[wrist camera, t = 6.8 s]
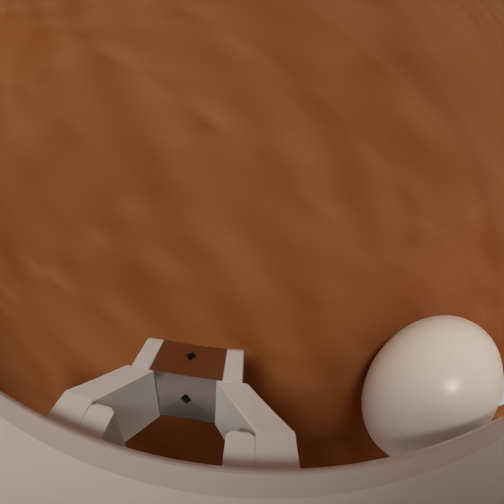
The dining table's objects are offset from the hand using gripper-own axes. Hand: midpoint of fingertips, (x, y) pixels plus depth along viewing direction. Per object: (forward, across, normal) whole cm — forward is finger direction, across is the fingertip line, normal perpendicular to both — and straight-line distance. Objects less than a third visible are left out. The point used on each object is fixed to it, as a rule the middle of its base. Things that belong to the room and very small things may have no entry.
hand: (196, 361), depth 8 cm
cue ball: (-1, -8, 0) cm, 8 cm away
